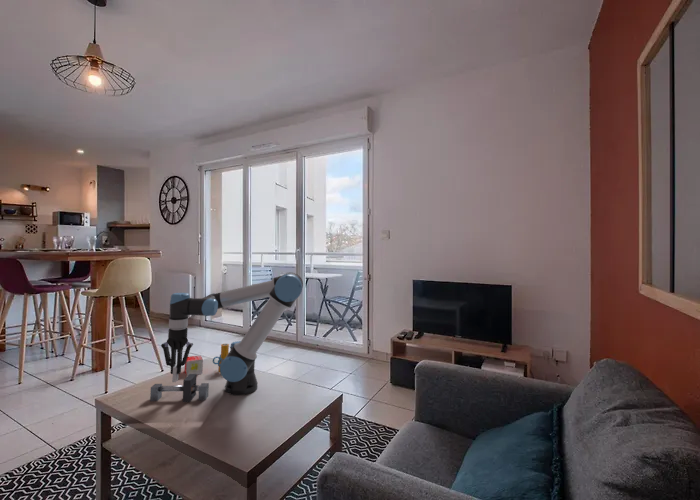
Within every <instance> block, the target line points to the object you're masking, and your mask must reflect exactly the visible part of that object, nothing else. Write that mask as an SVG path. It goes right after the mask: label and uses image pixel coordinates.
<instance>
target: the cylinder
mask: <svg viewBox="0 0 700 500" xmlns="http://www.w3.org/2000/svg"><path fill="white" fill-rule="evenodd" d="M220 345H221V346H220V354H219V356H215V357H213V358H212V363H213V364H214V365H217V366H218V367H217V368H218V371H217V372H218V373H219V374H221V373H220V366H221V363H222V361H223V360H224V359H225V358H226V356H227V355H228V353H229V352H230V344H229V343H221V344H220ZM216 359H218V360H217V362H215V360H216Z"/></svg>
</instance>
